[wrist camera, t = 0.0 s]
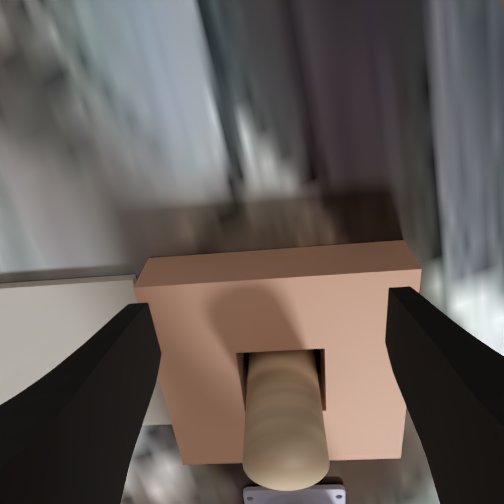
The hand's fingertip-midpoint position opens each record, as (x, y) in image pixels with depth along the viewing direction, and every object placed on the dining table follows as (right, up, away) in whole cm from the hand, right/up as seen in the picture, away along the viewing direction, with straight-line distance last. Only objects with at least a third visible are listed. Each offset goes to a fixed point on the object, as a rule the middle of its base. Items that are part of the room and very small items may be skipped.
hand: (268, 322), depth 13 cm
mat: (-13, -5, +15) cm, 20 cm away
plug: (+1, -4, +14) cm, 14 cm away
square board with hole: (+1, -4, +14) cm, 14 cm away
